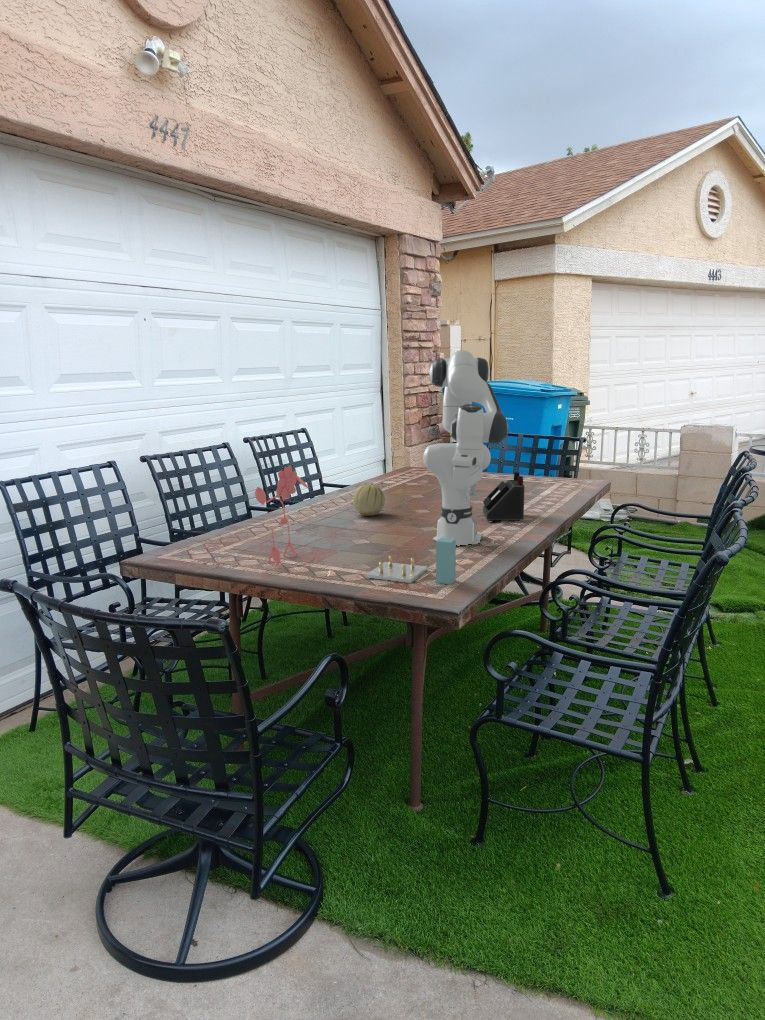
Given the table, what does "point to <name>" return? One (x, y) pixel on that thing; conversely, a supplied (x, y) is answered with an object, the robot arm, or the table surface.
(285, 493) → the figurine
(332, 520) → the table surface
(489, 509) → the voltmeter
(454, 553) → the teal block
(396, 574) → the post plate
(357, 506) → the cantaloupe
